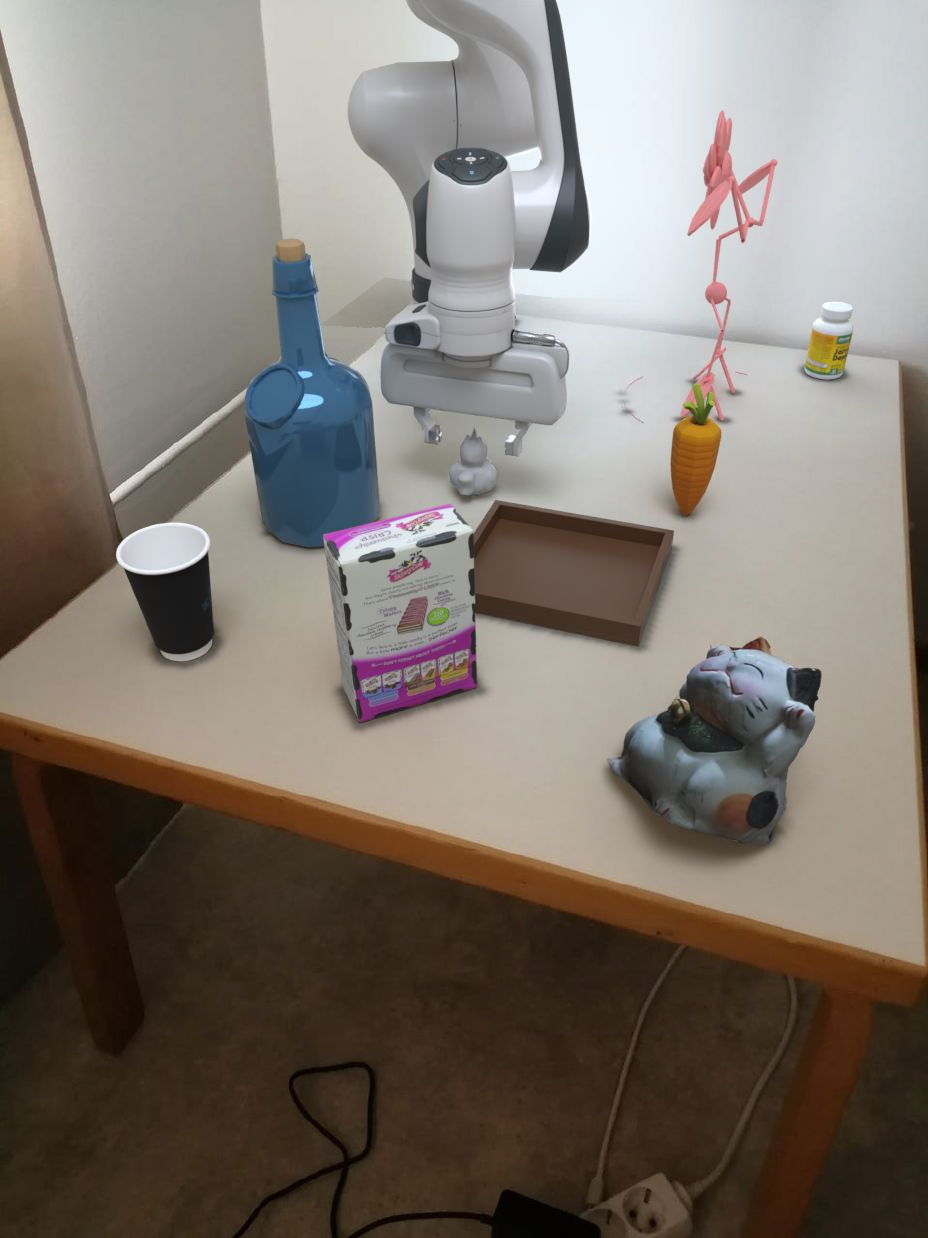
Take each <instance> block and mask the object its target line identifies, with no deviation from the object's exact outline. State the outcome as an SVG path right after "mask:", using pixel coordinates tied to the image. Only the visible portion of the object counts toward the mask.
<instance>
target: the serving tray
mask: <svg viewBox="0 0 928 1238" xmlns="http://www.w3.org/2000/svg"><path fill="white" fill-rule="evenodd" d="M674 534H675V530H673V529H668V528H663V527H662V528H661V527H656V526H649V525H646V524H645V525H644V524H639V523H632V522H627V521H622V520H621V521H620V520H615V519H609V518H603V517H599V516H598V517H597V516H592V515H586V514H580V513H574V512H568V511H562V510H557V509H551V508H545V507H539V506H534V505H528V504H524V503H523V504H521V503H516V502H512V501H511V502H510V501H504V500H498V499H495V500H494V501H493V503H492V504H491V506H490V508H489V509H488V511H487V513H486V514H485V515H484V516H483V518H482V519H481V522H480V523H479V524H478V526H477V528H476V529H475V531H473V538H474V573H475V614H479V615H485V616H488V617H489V616H490V617H495V618H499V619H503V620H508V621H513V622H518V623H523V624H527V625H533V626H538V627H543V628H547V629H552V630H557V631H562V632H567V633H571V634H576V635H582V636H586V637H591V638H595V639H600V640H606V641H610V642H615V643H620V644H624V645H629V646H635V647H639V646H640V643H641V640H642V637H643V634H644V631H645V629H646V625H647V622H648V619H649V616H650V613H651V612H652V611H651V610H652V608H653V605H654V602H655V599H656V596H657V593H658V590H659V587H660V584H661V583H662V582H661V581H662V579H663V576H664V572H665V570H666V567H667V564H668V561H669V558H670V555H671V552H672V549H673V541H674V536H675V535H674Z"/></svg>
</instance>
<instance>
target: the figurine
mask: <svg viewBox="0 0 928 1238" xmlns="http://www.w3.org/2000/svg"><path fill="white" fill-rule="evenodd" d="M715 125H716V126H715V131H714V139H713V143H711V144H710V146H709V150H708V153H707V155H706V157H705V160H704V165H703V168H702V173H703V183H704V185H705V187H707V188H706V192H705V198H704V201H703V202H702V203H701V204H700V205H699V207H698V209H697V210H696V212H695V214H694V215H693V217H692V218H691V221H690V224H689V227H688V230H687V233H686V235H687V236H688V237H691V235H693V234H694V233H695V232H697V230H699V229H700V228H701V227H702V226H703V225H704V224H705V223H707V222H708V221H710V222H709V225H710V230H712V231H713V230H714V229H715V227H716V225H717V223H718V219H719V216H720V215H719V214H720V211H721V206H722V205H723V203H724V201H725V200H726V199H727V197H728V195H729V193H731V197H732V202H733V206H734V207H733V208H734V212H735V217H736V221H737V227H734V228H732V229H730V230H728V231H726V232H724V233H722V234H720V235H718V239H715V240H716V241H715V252H714V262H713V275H712V276H713V277H712V282H711V283H710V284H708V285H707V287H706V288H705V291H704V296H705V297H704V298H705V300H706V301H707V302H708V303H709V304H711V307H712V309H713V311H714V315H715V318H716V320H717V323H718V326H719V329H720V331H719V334H718V337H717V341H716V344H715V347H714V350H713V352H712V357H711V359H710V360H709V361H708V362H707V364H705V365H704V367H702V368H701V369H699V371H698V373H696V374H695V375H694V376H693V377H692V380H693V381H694V380H696V379H697V378H699V377H700V376H701V375H702V374H703V373H704V372H705V371H706V370H707V372H706V373H705V374H704V375H702V377H701V378H699V379H698V380H697V381H696V382H695V383H698V384H700V387H701V390H702V394H703V399H704V401H705V400H706V399H707V394H708V392H712V393H713V394H714V403H715V404H714V407H715V411H716V413H717V417H718V418H719V421H724V420H725V417H724V414H723V412H722V408H721V406H720V404H719V403H720V402H719V400H718V398H717V395H716V392H715V389H714V387H713V385H714V383H715V378H716V377H715V376H716V375H715V373H714V372H713V371H712V367H713V364H714V363H715V362H716V361H717V360H718V359H719V361H720V364H721V367H722V370H723V373H724V376H725V379H726V382H727V385H728V387H729V390H730V393H731V394H734V393H735V392H736V389H735V387H734V384H733V381H732V378H731V375H730V372H729V369H728V366H727V364H726V361H725V357H724V353H725V352H726V351H727V347H724V348H722V345H723V341H724V340H723V339H724V336H725V331H726V326H727V321H728V317H729V313H730V308H731V304H732V300H731V298H729V297H727V296H728V290H727V287H726V285H725V284H724V283H722V282H719V281H717V277H718V276H717V275H718V269H719V268H718V267H719V261H720V260H719V259H720V252H721V251H720V250H721V244H722V240H723V239H726V238H727V237H729V236H731V235H733V234H735V233H739V238H740V242H741V244H745V243H746V240H747V236H748V235H747V234H748V230H749V229H750V228H752V227H753V226H758V227H763V225H764V221H765V218H766V212H767V208H768V203H769V197H770V193H771V189H772V184H773V179H774V174H775V169H776V166H777V165H778V160H777V159H775V158H773V159H771V160H770V161H769V162H767V163H765V164H764V165H762V166H760V167H759V168H757V169H756V170H755V171H753V172H752V173H751V174H749V175H748V176H747V177H746V178H744V179H743V181H742V182H741V183H740V184H738V180H737V178H736V176H735V173H734V170H733V160H732V159H733V158H732V155H731V153H730V152H729V150H730V146H731V139H732V129H733V121H732V118H731V117H728V119H726V116H725V112H724V110H723V109H722V110H721V111H720V112H719V114H718V117H717V120H716V124H715ZM767 176H768V177H767ZM766 177H767V183H766V187H765V193H764V197H763V202H762V207H761V210H760V211H761V212H760V216H759V220H757V219H756V220H755V219H754V218H753V217H751V216H750V213H749V211H748V207H747V205H746V202H745V200H744V196H743V194H745V193H746V192H748V191H750V190H752V188H754V187H756V186H757V185H758V184H760V182H761V181H763V180H764V179H765V178H766ZM730 191H731V192H730ZM740 207H741V208H740ZM741 210H742V212H743V215H744V218H745V221H744V223H743V217H742V213H741ZM725 301H726V302H727V304H726V310H725V314H724V319H723V323H722V321H721V318H720V315H719V312H718V309H717V306H716V305H720V304H721V303H723V302H725ZM734 373H735V374H739V375H744V376H748V373H744V372H738V371H734ZM643 377H644V376H640V377H639V378H636V379H635V380H634V381H632V382H631V383H630V384H628V386H627V387H626V388H625V390H627V389H628V388H629V386H631V385H632V384H634V383H635V382H636V381H639V380H640V379H642V378H643ZM622 391H623V389H621V390H620V393H622ZM625 392H626V391H624V393H623V394H622V395H623V396H624V395H625ZM620 393H619V394H620ZM622 401H623V404H624V407H623V406H621V409H623V411H624V412H626V410H627V412H628V413H629V414H630V415H631V416H632V417H633V418H634V419H636V420H637V421H639V422H640V423H642V424H644V423H645V422H644V421H642V420H640V419H639V418H637V417H636V416H635V415H634V414H633V413H631V411H629V408H628V407H627V406H626V404H625V401H624V400H622ZM688 401H691V402H693V404H694V406H695V405H697V402H696V399H695V395H694V391H693V387H692V386H691V388H690V390H689V392H688V394H687V396H686V398H685V400H684V403H686V402H688ZM624 408H625V409H626V410H625V409H624ZM689 414H692V413H691V412H690V411H689V410H688V409H686V408H684V407H683V406H682V409H681V413H680V416H679V417H680V418H681V419H684V418H685V417H687V416H688V415H689Z"/></svg>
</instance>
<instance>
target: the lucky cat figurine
mask: <svg viewBox="0 0 928 1238" xmlns="http://www.w3.org/2000/svg"><path fill="white" fill-rule="evenodd" d="M709 647H710V648H709V649H708V651H707V653H706V657H705V659H703V660H702V661H701V662H699V663H697V664H695V665H694V666H693V667H691V669H690V671H689V673H688V674H687V675H686V679H685V682H684V683H683V684H682V685H681V687H680V689H679V692H678V696H679V698H674V700H673V701H671V704H670V705H668V706H667V710H664V711H662V712H660V713H658V714H653V715H649V716H646V717H644V718H642V719H639V720H638V721H637V722H636V723H634V724H633V725H632V726H631V727H630V728H629V729H628V730H627V731H626V733H625V735H624V739H623V746H622V752H621V755H620V756H617V757H616V758H611V757H607V758H606V761H607V763H608V766H609V768H610V771H612V772H613V773H614V774H615V775H617V776H619V777H620V778H622V779H623V780H624V781H626V782H627V783H628V784H629V785H630V786H631V787H632V788H633V789H634V790H635V792H636V793H637V794H638V795H639V797H640V798H641V799H642V800H643V802H644V804H646V805H647V807H648V808H649V809H650V810H651V811H652V812H654V813H655V814H656V815H658V816H660V817H661V818H663V819H665V820H666V821H667V822H668V823H669V824H671V825H674V826H676V827H679V828H681V829H683V830H687V831H690V832H694V833H698V834H701V835H705V836H710V837H715V838H720V839H724V840H728V841H735V842H737V843H739V844H742V845H743V844H744V845H766V844H770V842H771V840H772V838H773V835H774V832H775V828H776V826H777V824H778V823H779V820H780V819H781V817H782V816H783V814H784V813H785V811H786V809H787V804H788V802H787V801H788V800H787V786H788V785H787V781H788V780H787V779H788V772H789V767H790V766H791V764H792V763H793V762H795V760H796V758H797V756H798V754H799V752H800V750H801V749H802V748H803V747H804V746H805V745H806V743H807V741H808V739H809V737H810V734H811V733H812V731H813V729H814V727H815V723H816V716H817V715H815V704H816V702H817V701H819V696H818V694H819V691H820V688H821V684H822V678H823V677H822V675H823V674H822V670H821V669H819V668H816V667H815V668H813V667H802V668H801V667H795V666H793V665H791V664H789V662H787V661H786V660H785V659H784V658H782V657H781V656H778V655H773V654H772V651H771V647H772V646H771V645H770V643H769V641H768V640H767V639H766V638H764V637H763V636H758V637H757V638H754V639H753V640H750V641H749V642H746V643H745V644H744V645H742V647H733V646H728V645H725V644H723V643H720V644H719V645H718V646H714V645H713V644H710V645H709Z"/></svg>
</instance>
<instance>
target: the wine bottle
mask: <svg viewBox="0 0 928 1238" xmlns="http://www.w3.org/2000/svg"><path fill="white" fill-rule="evenodd" d="M275 254H276V255H274V256H273V257H272V258H271V259H272V261H271V262H272V263H271V264H272V268H271V269H272V288H271V294H272V296H274V297H275V305H276V306H275V307H276V316H277V326H278V338H279V348H280V356H279V358H278V360H277V361H274V362H272V363H271V364H270V365H268V366H267V367H266V368H265V369H263V370H261V371H260V372H259V373H258V374H257V375H256V376H254V377H253V378H252V379H251V381H250V382H249V384H248V385H247V388H246V391H245V395H244V418H245V423H246V431H247V436H248V442H249V448H250V455H251V460H252V467H253V474H254V479H255V487H256V492H257V498H258V504H259V511H260V517H261V522H262V525H263V526H264V527H265V530H267V531H268V532H269V533H270V534H272V535H273V536H275V537H276V538H277V539H278V540H280V541H281V542H282V543H286V544H291V545H297V546H301V547H304V548H305V547H306V548H317V547H324V540H323V535H324V534H328V533H332V532H336V531H340V530H344V529H348V528H353V527H357V526H361V525H365V524H369V523H373V522H377V521H378V518H379V516H380V514H381V502H380V500H381V499H380V488H379V474H378V462H377V447H376V435H375V433H376V432H375V422H374V421H375V420H374V419H375V418H374V408H373V407H374V406H373V400H372V395H371V390H370V387H369V384H368V382H367V380H366V379H365V377H364V376H363V375H362V374H361V372H359V371H358V370H357V369H355V368H354V367H353V366H352V367H351V366H350V365H348V364H346V363H344V362H342V361H340V360H338V359H336V358H335V357H329V356H328V354H327V353H326V351H325V349H324V348H325V347H324V340H323V334H322V333H323V332H322V326H321V319H320V312H319V305H318V298H317V293H319V285H318V284H317V279H316V275H315V270H314V267H313V262H312V260H313V259H312V255H310V254H309V253H306V245H305V243H304V241H303V240H301V239H298V238H285V239H281V240H279V241H278V242H276V243H275Z"/></svg>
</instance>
